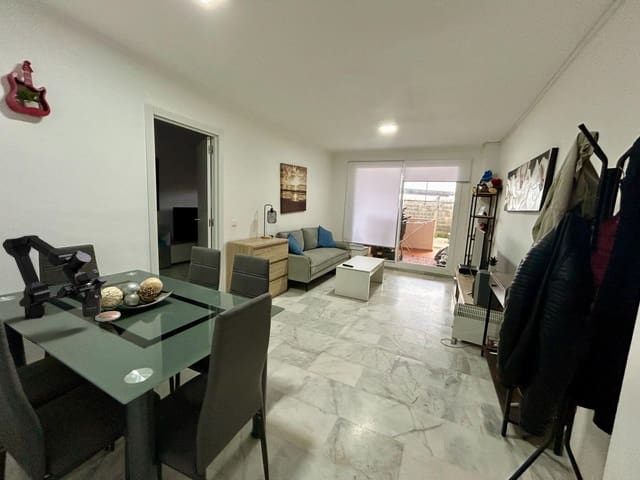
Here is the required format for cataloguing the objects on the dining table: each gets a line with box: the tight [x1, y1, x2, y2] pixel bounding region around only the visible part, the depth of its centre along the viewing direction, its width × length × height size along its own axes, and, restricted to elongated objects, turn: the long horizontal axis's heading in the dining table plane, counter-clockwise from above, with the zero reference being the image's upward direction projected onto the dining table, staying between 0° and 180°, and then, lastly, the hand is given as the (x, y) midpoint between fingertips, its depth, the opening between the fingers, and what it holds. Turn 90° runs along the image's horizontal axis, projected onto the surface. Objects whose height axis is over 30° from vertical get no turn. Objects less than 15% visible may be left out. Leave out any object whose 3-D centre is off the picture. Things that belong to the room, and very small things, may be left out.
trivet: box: [94, 310, 121, 322], centre depth 136 cm, size 10×10×1 cm
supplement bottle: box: [80, 288, 102, 318], centre depth 124 cm, size 7×7×12 cm
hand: (93, 301), depth 124 cm, fingers closed on supplement bottle, 6 cm apart
